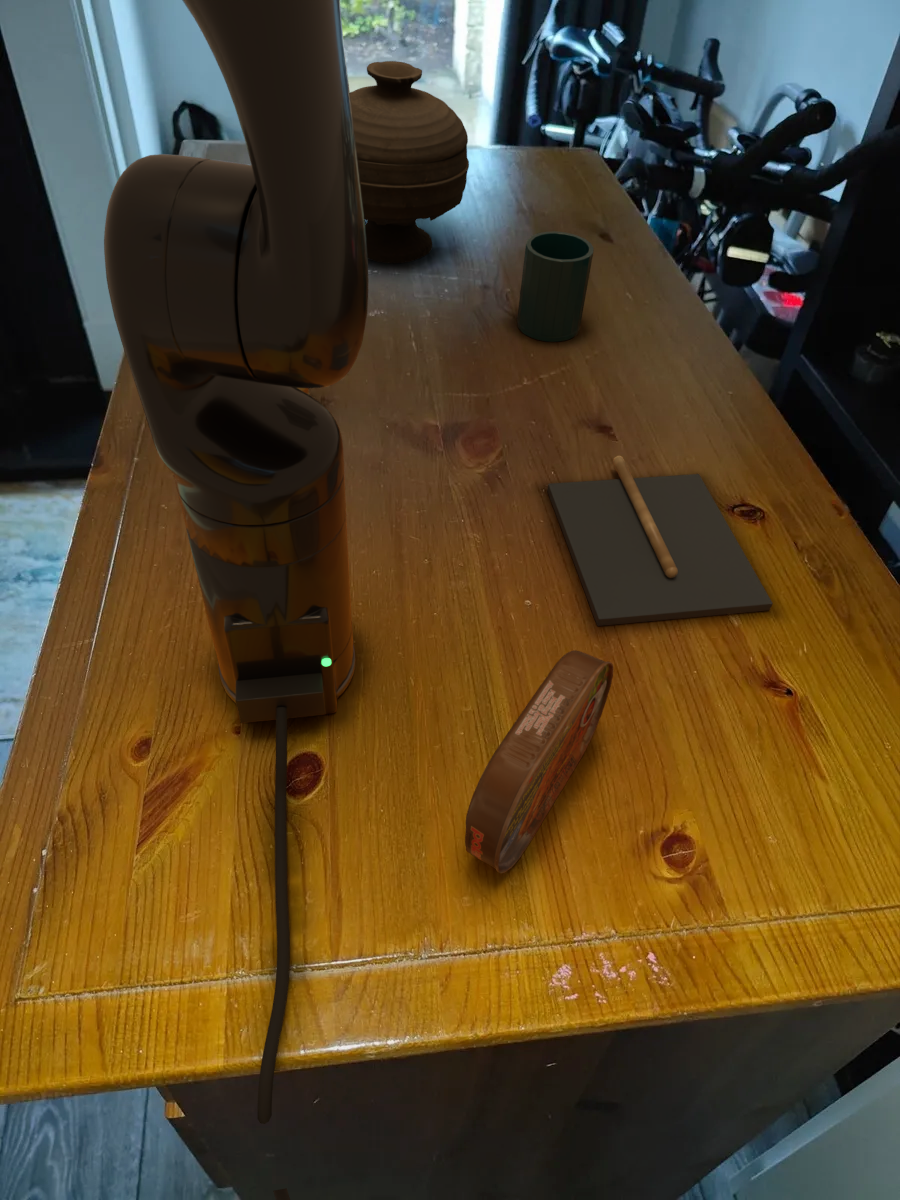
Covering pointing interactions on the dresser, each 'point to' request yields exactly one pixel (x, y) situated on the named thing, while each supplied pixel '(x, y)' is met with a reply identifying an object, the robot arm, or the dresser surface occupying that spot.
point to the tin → (536, 759)
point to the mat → (629, 563)
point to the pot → (405, 160)
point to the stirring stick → (645, 518)
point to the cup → (554, 285)
